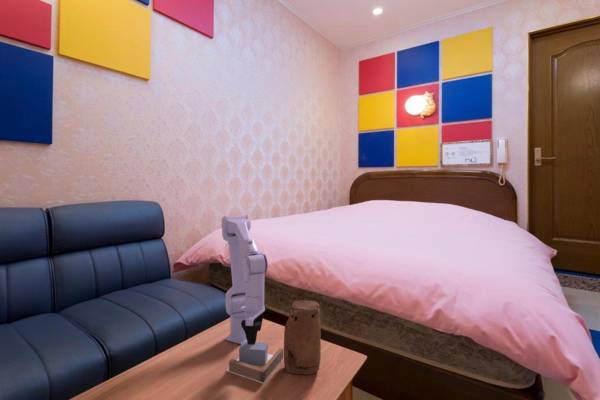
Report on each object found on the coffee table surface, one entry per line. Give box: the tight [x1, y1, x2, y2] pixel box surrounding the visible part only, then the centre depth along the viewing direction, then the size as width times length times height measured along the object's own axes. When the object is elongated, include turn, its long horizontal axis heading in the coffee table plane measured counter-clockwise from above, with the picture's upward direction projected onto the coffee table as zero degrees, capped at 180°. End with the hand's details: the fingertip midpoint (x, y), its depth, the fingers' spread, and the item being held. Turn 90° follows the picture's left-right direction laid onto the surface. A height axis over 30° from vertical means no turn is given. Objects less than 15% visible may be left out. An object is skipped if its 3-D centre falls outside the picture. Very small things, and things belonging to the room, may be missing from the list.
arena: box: [225, 347, 284, 385], centre depth 88 cm, size 12×13×3 cm
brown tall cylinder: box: [283, 299, 322, 375], centre depth 86 cm, size 11×8×20 cm
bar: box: [238, 341, 269, 366], centre depth 89 cm, size 8×4×5 cm, turn 87°
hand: (254, 336), depth 88 cm, fingers open, 7 cm apart
